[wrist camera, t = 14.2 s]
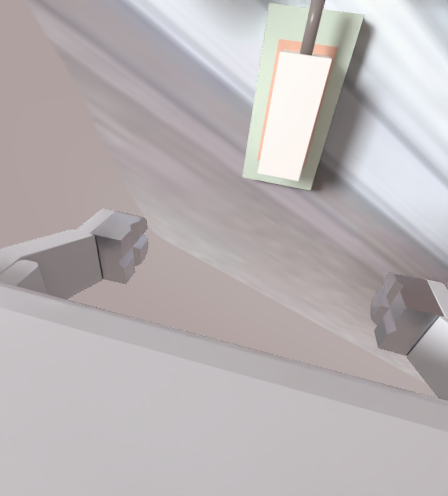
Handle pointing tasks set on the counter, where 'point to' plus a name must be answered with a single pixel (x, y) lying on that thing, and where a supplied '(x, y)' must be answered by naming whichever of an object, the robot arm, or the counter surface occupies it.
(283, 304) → the counter surface
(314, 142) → the green peg board
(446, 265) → the counter surface
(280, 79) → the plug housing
